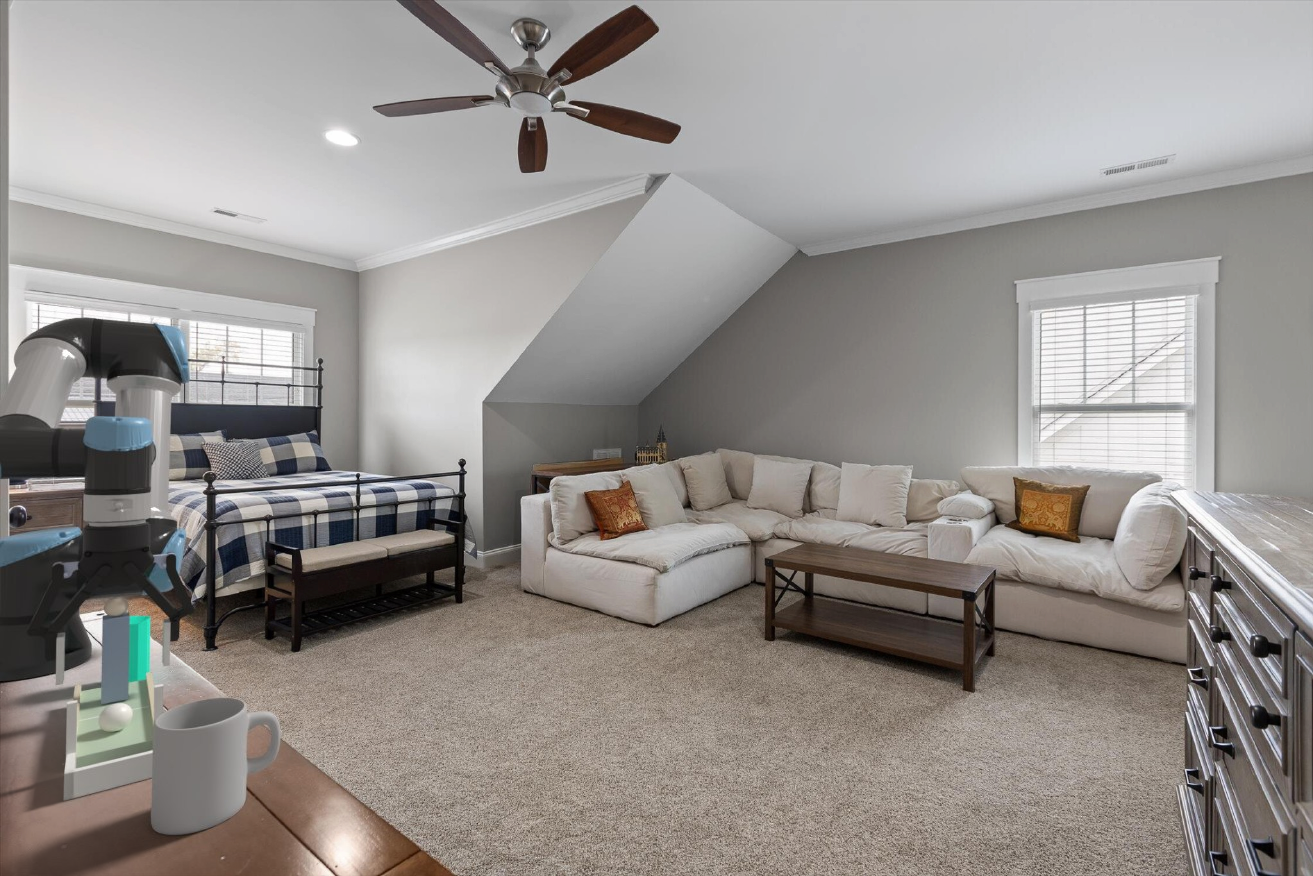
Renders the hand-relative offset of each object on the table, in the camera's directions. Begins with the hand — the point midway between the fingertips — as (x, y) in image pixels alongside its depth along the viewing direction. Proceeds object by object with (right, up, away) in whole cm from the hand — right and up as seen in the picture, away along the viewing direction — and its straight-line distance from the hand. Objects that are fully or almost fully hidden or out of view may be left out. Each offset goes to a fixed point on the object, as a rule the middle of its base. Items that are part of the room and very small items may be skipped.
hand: (115, 672), depth 93 cm
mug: (+30, -7, -22) cm, 38 cm away
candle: (-8, -6, +11) cm, 15 cm away
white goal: (+14, -7, -16) cm, 22 cm away
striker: (0, -4, 0) cm, 4 cm away
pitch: (+3, -6, -4) cm, 8 cm away
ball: (+8, -3, -9) cm, 12 cm away
